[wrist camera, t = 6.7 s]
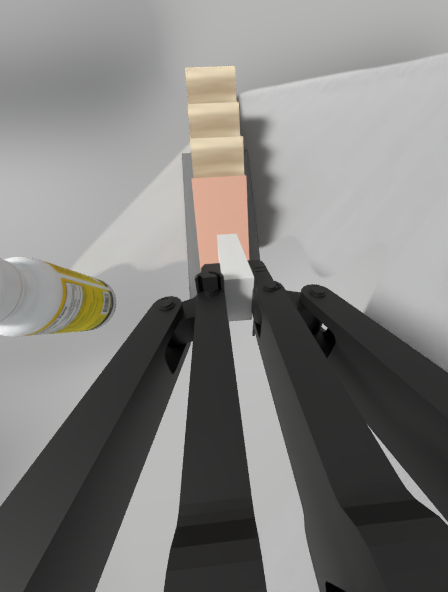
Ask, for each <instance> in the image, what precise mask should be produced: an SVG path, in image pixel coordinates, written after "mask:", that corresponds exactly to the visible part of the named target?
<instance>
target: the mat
mask: <svg viewBox="0 0 448 592" xmlns="http://www.w3.org/2000/svg"><path fill="white" fill-rule="evenodd" d="M182 164H183V182H184V200H185V218H186V235H187V253H188V271H189V289H190V299H192V298H194V297H195V296H196V295H197V290H196V284H195V276H196V275H197V274H199V273H201V271H200V261H199V251H198V241H197V231H196V221H195V210H194V200H193V190H192V180H191V179H192V178H193V168H192V157H191V153H185V154H182ZM244 175H246V180H247V208H248V236H249V260H260V255H259V246H258V238H257V229H256V220H255V212H254V203H253V194H252V186H251V177H250V169H249V160H248V151H247V150H244Z"/></svg>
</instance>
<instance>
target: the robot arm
mask: <svg viewBox="0 0 448 592" xmlns="http://www.w3.org/2000/svg"><path fill="white" fill-rule="evenodd" d="M217 242H218V257H219V263H212V264H204V265H203V266H202V268H201V273H199V274H197V275H196V276H195V284H196V290H197V295H196V296H195V297H194V298H192V299H189V300H187V301H184V302H181V300H180V299H179V298H177V297H173V296H170V297H164V298H161V299H159V300H157V301H156V302H155V303H154V304H153V305H152V307H151V308H150V309H149V310H148V312H147V313H146V315H145V316H144V317H143V318H142V320H141V321H140V322H139V324H138V325H137V326H136V328H135V329H134V330H133V332H132V333H131V334H130V336H129V337H128V338H127V340H126V341H125V342H124V343H123V345H122V346H121V347H120V349H119V350H118V352H117V353H116V354H115V356H114V357H113V358H112V359H111V361H110V362H109V363H108V365H107V366H106V367H105V369H104V370H103V371H102V373H101V374H100V375H99V377H98V378H97V379H96V381H95V382H94V383H93V385H92V386H91V387H90V389H89V390H88V391H87V393H86V394H85V395H84V396H83V398H82V399H81V401H80V402H79V403H78V405H77V406H76V407H75V408H74V410H73V411H72V412H71V414H70V415H69V417H68V418H67V419H66V421H65V422H64V423H63V424H62V426H61V427H60V428H59V430H58V431H57V432H56V434H55V435H54V436H53V438H52V439H51V440H50V442H49V443H48V444H47V446H46V447H45V448H44V449H43V451H42V452H41V453H40V455H39V456H38V457H37V459H36V460H35V462H34V463H33V464H32V465H31V467H30V468H29V469H28V471H27V472H26V474H25V475H24V476H23V477H22V479H21V480H20V481H19V483H18V484H17V485H16V487H15V488H14V489H13V491H12V492H11V493H10V495H9V496H8V497H7V499H6V500H5V501H4V503H3V504H2V505H1V507H0V592H95V590H96V588H97V585H98V583H99V580H100V578H101V575H102V572H103V570H104V567H105V564H106V562H107V559H108V557H109V554H110V551H111V549H112V546H113V544H114V541H115V538H116V536H117V533H118V531H119V528H120V526H121V523H122V520H123V518H124V515H125V513H126V510H127V508H128V505H129V502H130V499H131V497H132V495H133V492H134V489H135V486H136V484H137V482H138V479H139V476H140V473H141V471H142V469H143V466H144V464H145V461H146V458H147V456H148V453H149V451H150V448H151V445H152V443H153V440H154V438H155V435H156V432H157V430H158V427H159V424H160V422H161V419H162V417H163V414H164V412H165V409H166V407H167V404H168V401H169V399H170V396H171V394H172V391H173V388H174V386H175V383H176V381H177V378H178V376H179V373H180V370H181V367H182V365H183V362H184V360H185V357H186V355H187V352H188V350H189V347H190V344H191V341H193V348H192V360H191V372H190V385H189V397H188V409H187V420H186V433H185V445H184V457H183V469H182V481H181V493H180V505H179V514H178V521H177V527H176V530H175V534H174V538H173V542H172V545H171V549H170V554H169V560H168V565H167V571H166V579H165V586H164V592H267V589H266V582H265V576H264V569H263V562H262V555H261V549H260V543H259V537H258V532H257V527H256V522H255V517H254V511H253V504H252V496H251V488H250V481H249V473H248V466H247V459H246V451H245V443H244V436H243V428H242V420H241V413H240V405H239V397H238V390H237V382H236V374H235V368H234V359H233V352H232V345H231V336H230V329H229V321H238V320H251V319H252V314H253V318H254V321H253V336H255V334H256V338H257V341H258V345H259V349H260V353H261V356H262V360H263V364H264V367H265V371H266V375H267V378H268V382H269V386H270V390H271V393H272V397H273V401H274V404H275V408H276V412H277V415H278V419H279V422H280V426H281V430H282V434H283V437H284V441H285V445H286V448H287V452H288V455H289V459H290V463H291V466H292V470H293V474H294V478H295V481H296V485H297V489H298V492H299V496H300V500H301V504H302V508H303V513H304V523H305V533H306V538H307V543H308V547H309V552H310V556H311V560H312V563H313V567H314V571H315V575H316V579H317V583H318V587H319V590H320V592H448V525H447V524H446V523H445V522H444V521H443V520H442V519H441V518H440V517H439V516H438V515H436V514H435V513H434V512H432V511H431V510H430V509H428V508H427V507H426V506H424V505H423V504H422V503H420V502H419V501H418V500H416V499H415V498H414V497H413V496H412V494H411V493H410V492H409V491H408V490H407V489H406V487H405V486H404V484H403V483H402V481H401V480H400V478H399V477H398V475H397V473H396V472H395V470H394V468H393V467H392V465H391V464H390V462H389V460H388V459H387V457H386V455H385V454H384V452H383V450H382V449H381V447H380V445H379V444H378V442H377V440H376V439H375V437H374V435H373V434H372V432H371V430H370V429H369V427H370V428H371V429H372V431H373V432H374V433H375V434H376V436H377V437H378V438H379V439H380V440H381V442H382V443H383V444H384V445H385V446H386V448H387V449H388V450H389V451H390V452H391V454H392V455H393V456H394V457H395V459H396V460H397V461H398V462H399V463H400V465H401V466H402V467H403V468H404V469H405V471H406V472H407V473H408V474H409V475H410V477H411V478H412V479H413V480H414V482H415V483H416V484H417V485H418V486H419V488H420V489H421V490H422V491H423V492H424V494H425V495H426V496H427V497H428V498H429V500H430V501H431V502H432V503H433V504H434V506H435V507H436V508H437V509H438V511H439V512H440V513H441V514H442V515H443V517H444V518H445V519H446V520H447V521H448V373H447V372H446V371H445V370H443V369H442V368H440V367H439V366H437V365H436V364H435V363H433V362H432V361H430V360H429V359H427V358H426V357H425V356H423V355H422V354H420V353H419V352H417V351H416V350H415V349H413V348H412V347H410V346H409V345H408V344H406V343H405V342H403V341H402V340H400V339H399V338H398V337H396V336H395V335H393V334H392V333H390V332H389V331H388V330H386V329H385V328H383V327H382V326H380V325H379V324H378V323H376V322H375V321H373V320H372V319H370V318H369V317H368V316H366V315H365V314H363V313H362V312H361V311H359V310H358V309H356V308H355V307H353V306H352V305H350V304H349V303H348V302H346V301H345V300H343V299H342V298H340V297H339V296H338V295H336V294H335V293H333V292H332V291H331V290H329V289H327V288H325V287H323V286H319V285H313V284H312V285H307V286H304V287H303V288H302V290H301V292H292V291H286V290H285V289H284V287H283V286H282V285H281V284H280V283H278V282H276V281H273V279H272V277H271V275H270V274H269V272H268V270H267V268H266V266H265V265H264V263H263V262H262V261H260V260H247V258H246V256H245V253H244V251H243V248H242V246H241V243H240V241H239V238H238V236H237V234H222V235H217ZM322 324H324V325H325V326H326V327H327V330H324V329H323V328H322V327H321V326H322ZM366 423H367V424H366ZM367 425H368V426H369V427H368V426H367Z"/></svg>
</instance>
